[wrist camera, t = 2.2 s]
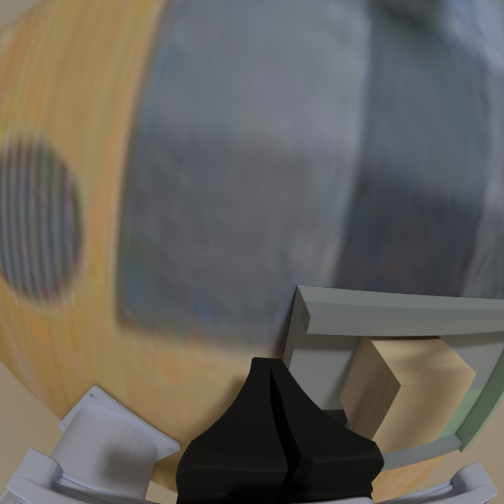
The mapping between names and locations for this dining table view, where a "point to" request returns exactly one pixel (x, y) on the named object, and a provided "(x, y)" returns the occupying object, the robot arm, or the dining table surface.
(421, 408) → the beech cube
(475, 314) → the box
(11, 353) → the dining table surface
